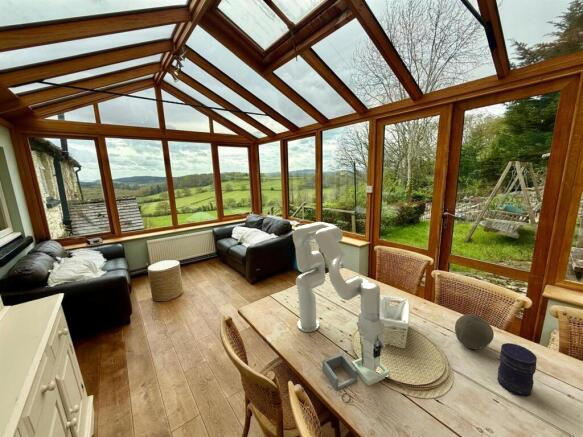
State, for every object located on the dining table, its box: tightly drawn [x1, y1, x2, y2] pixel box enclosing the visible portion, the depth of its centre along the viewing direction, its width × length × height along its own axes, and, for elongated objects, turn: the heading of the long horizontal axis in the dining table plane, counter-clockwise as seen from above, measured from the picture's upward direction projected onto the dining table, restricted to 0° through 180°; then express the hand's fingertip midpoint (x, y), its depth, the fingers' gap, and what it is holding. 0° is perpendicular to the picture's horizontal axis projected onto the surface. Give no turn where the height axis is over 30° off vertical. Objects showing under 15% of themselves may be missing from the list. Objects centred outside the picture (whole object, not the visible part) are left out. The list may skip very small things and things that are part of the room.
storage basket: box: [380, 294, 411, 349], centre depth 123 cm, size 24×16×15 cm
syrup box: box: [360, 335, 381, 372], centre depth 99 cm, size 6×6×14 cm
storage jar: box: [497, 342, 538, 398], centre depth 90 cm, size 10×10×15 cm
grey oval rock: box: [454, 313, 495, 350], centre depth 111 cm, size 14×14×15 cm
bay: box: [321, 352, 358, 391], centre depth 100 cm, size 11×10×5 cm
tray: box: [351, 357, 390, 387], centre depth 101 cm, size 11×11×2 cm
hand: (370, 349), depth 99 cm, fingers closed on syrup box, 7 cm apart
